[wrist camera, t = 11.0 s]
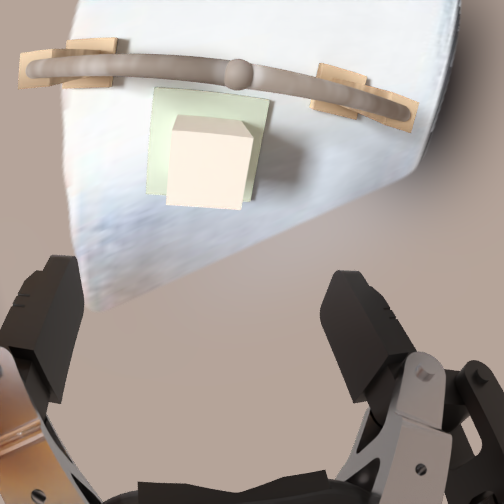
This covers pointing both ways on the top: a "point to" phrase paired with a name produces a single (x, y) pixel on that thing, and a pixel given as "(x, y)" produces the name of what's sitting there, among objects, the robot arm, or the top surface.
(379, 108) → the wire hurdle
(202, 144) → the cream block
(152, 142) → the mat
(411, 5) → the top surface
